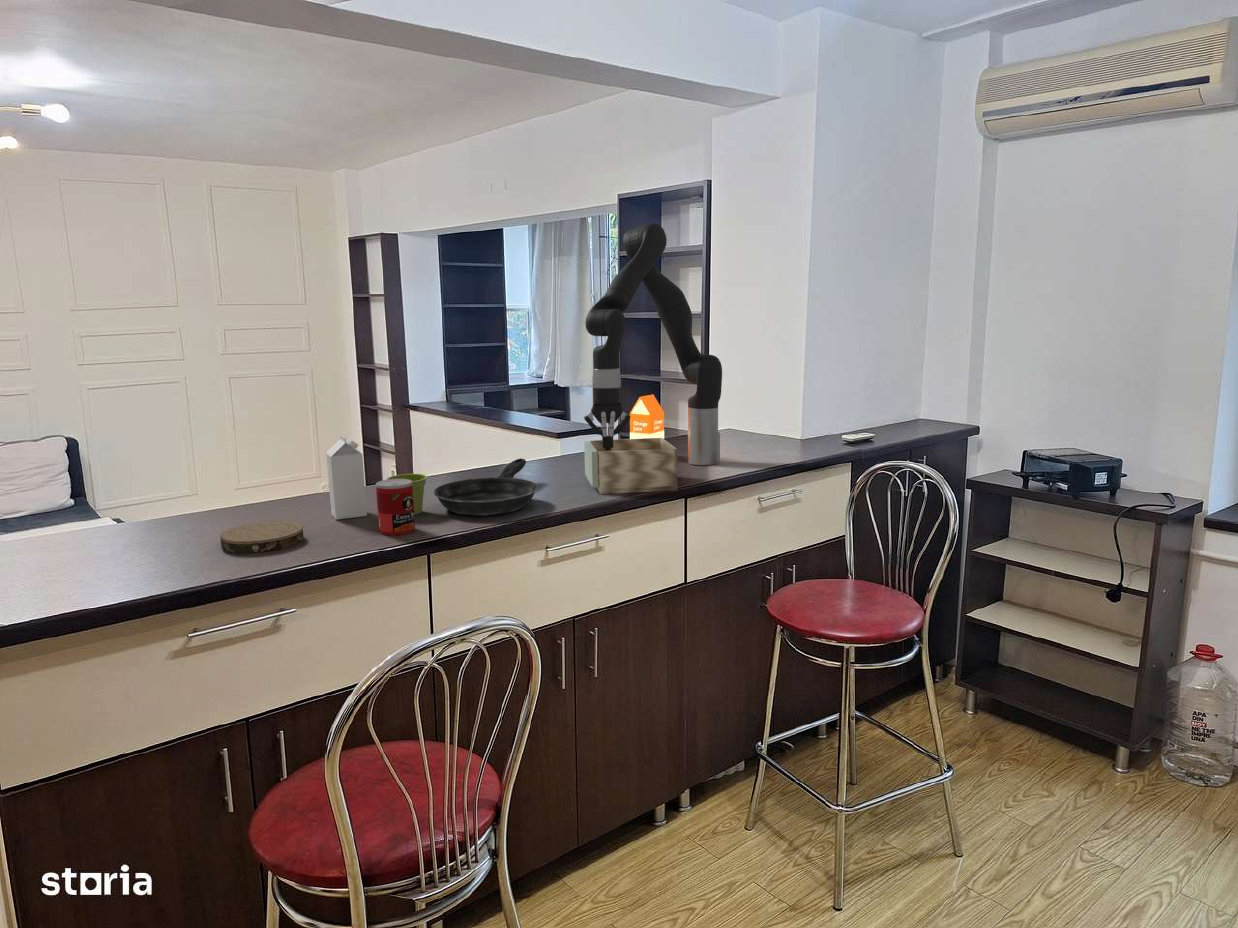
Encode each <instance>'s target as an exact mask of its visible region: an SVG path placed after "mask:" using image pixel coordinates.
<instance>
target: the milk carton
mask: <svg viewBox="0 0 1238 928" xmlns="http://www.w3.org/2000/svg"><path fill="white" fill-rule="evenodd" d="M358 447H359V444H358V443H357V442H355V441H354V440H352V439H350V440H349V442H347V438H346V437H345V436H344V435H342V434H339V440H337V442H336V443H334V445H332V446H331V447H330V448H329V449H328V450H327V451H326V452H325V453H326V465H327V478H328V489H329V501H330V510H331V511H330V513H331V516H332V517H334V519H335V520H345V519H352V518H353V519H354V518H360V517H361V518H362V517H367V516H368V510H367V509H368V508H367V496H366V484H365V483H366V481H365V470H364V459H363V457H364V456H363V453H362V452H360V451H359V450H358V449H357V448H358Z"/></svg>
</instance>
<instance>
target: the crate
mask: <svg viewBox="0 0 1238 928" xmlns="http://www.w3.org/2000/svg"><path fill="white" fill-rule="evenodd" d="M589 441H590V442H591V444H592V445H593V446H594V448H595V449H596V450H597V453H598V487H595V488H596V490H597V491H598V493H599V495H610V494H609V493H612V494H628V493H629V494H630V493H631V494H632V493H651V492H670V491H672V492H673V491H678V448H676V447H675V446H674V445H672V444H671V443H670V442H668V440H666V439H665V438H664V439H663V438H641V439H630V438H623V439H622V438H620V439H618V438H617V439H613V448H611V450H605V448H603V446H602V439H596V440H595V439H594V440H589Z"/></svg>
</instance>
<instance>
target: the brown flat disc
mask: <svg viewBox="0 0 1238 928" xmlns="http://www.w3.org/2000/svg"><path fill="white" fill-rule="evenodd" d="M219 538H220V545H221V546H220V547H221V550H222V552H224V553H227V554H230V555H231V554H232V555H259V554H267V553H275V552H279V551H283V550H287V549H290V548H294V547H295V546H298V545H299V544H301V543H303V541H304V538H305V537H304V527H303V525H302V524H301V523H299V522H294V521H283V520H281V521H280V520H278V521H275V520H274V521H260V522H255V523H248V524H243V525H239V526H234V527H232V528H229V529H226V530H225V531H223V532H222V533H220V535H219Z"/></svg>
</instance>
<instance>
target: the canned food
mask: <svg viewBox="0 0 1238 928" xmlns="http://www.w3.org/2000/svg"><path fill="white" fill-rule="evenodd" d="M386 479H387V478H386ZM386 479H383V480H379V481H377V482H376V483H375V491H376V492H375V493H376V505H377V516H378V530H379V532H380V533H381V534H382V535H385V536H404V535H408V534H411V533H413V532H414V531H415V530H416V519H415V518H416V515H415V514H414V497H413V484H412V481H411V480H408V479H387V480H386Z"/></svg>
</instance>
